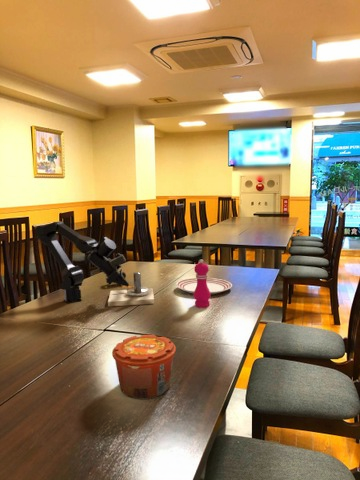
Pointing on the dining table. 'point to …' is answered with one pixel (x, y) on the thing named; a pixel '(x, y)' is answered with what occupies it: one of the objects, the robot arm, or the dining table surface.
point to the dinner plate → (212, 284)
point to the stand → (129, 298)
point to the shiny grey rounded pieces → (137, 287)
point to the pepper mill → (202, 285)
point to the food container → (144, 365)
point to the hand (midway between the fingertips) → (128, 285)
